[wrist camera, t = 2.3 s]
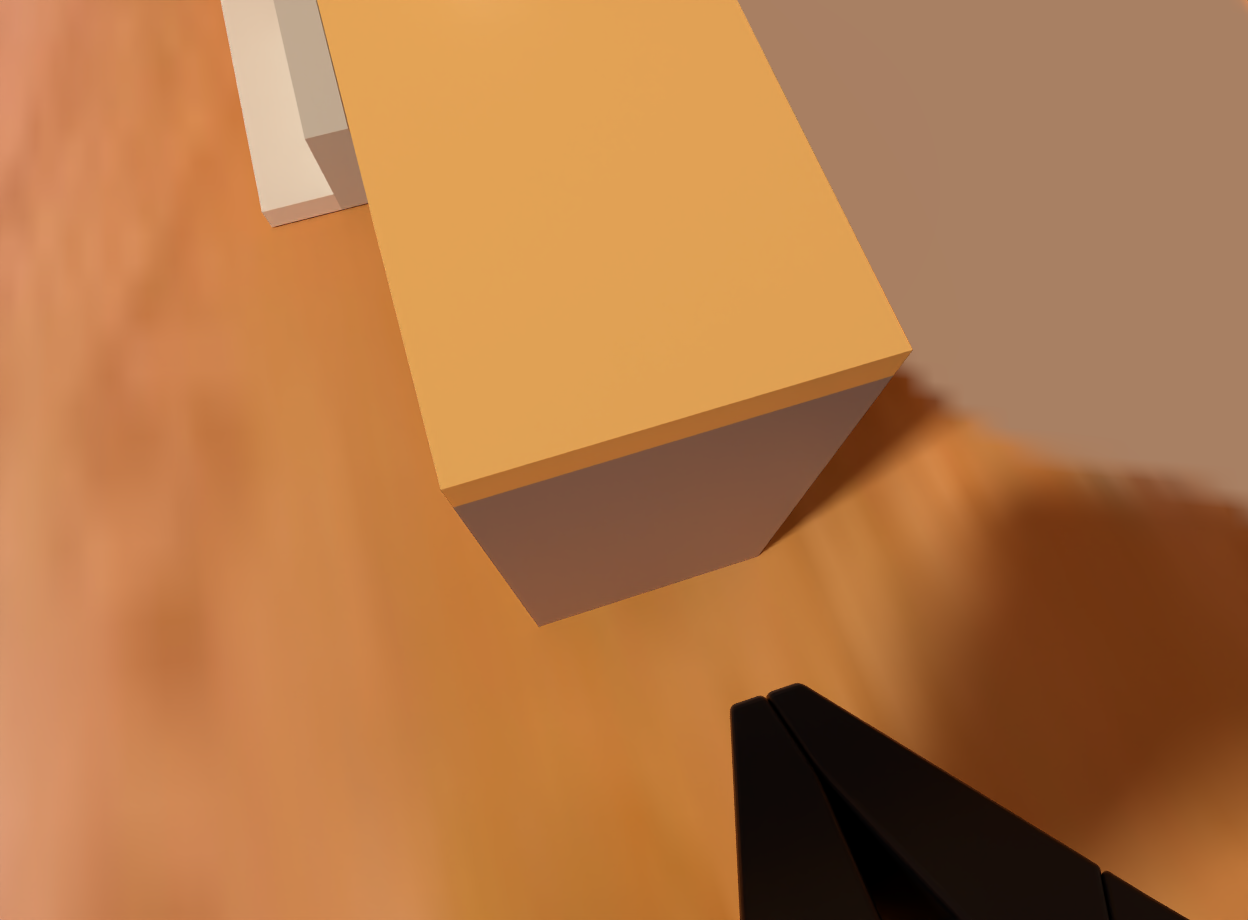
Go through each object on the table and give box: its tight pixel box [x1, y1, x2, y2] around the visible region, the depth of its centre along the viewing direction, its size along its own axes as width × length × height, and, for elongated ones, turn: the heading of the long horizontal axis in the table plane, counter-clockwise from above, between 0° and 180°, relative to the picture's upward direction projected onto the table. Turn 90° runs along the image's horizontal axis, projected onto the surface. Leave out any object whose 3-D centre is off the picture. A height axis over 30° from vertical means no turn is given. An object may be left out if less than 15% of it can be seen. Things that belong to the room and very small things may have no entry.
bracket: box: [221, 0, 368, 227], centre depth 21 cm, size 8×13×2 cm, turn 108°
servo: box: [317, 0, 912, 626], centre depth 13 cm, size 10×5×10 cm, turn 18°
